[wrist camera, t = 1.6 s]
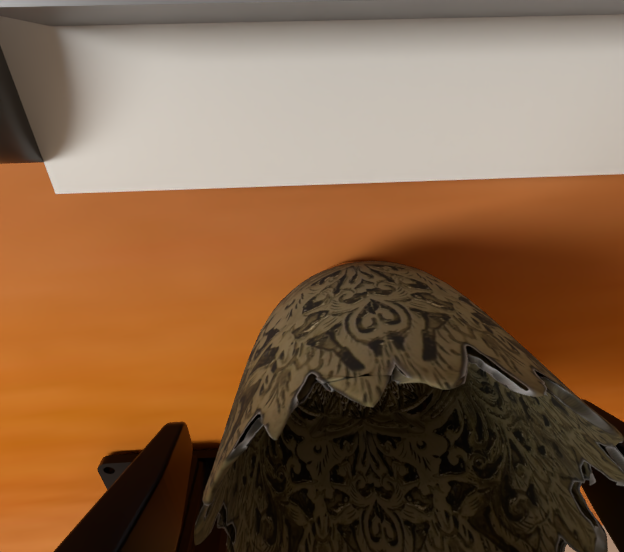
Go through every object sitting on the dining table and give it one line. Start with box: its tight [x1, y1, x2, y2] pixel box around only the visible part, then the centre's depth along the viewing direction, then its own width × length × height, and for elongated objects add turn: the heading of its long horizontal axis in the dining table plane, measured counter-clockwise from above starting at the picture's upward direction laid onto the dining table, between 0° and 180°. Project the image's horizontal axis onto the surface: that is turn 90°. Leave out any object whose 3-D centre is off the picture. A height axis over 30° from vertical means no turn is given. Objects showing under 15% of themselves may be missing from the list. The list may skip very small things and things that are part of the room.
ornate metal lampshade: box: [194, 261, 624, 552], centre depth 10 cm, size 8×7×8 cm
